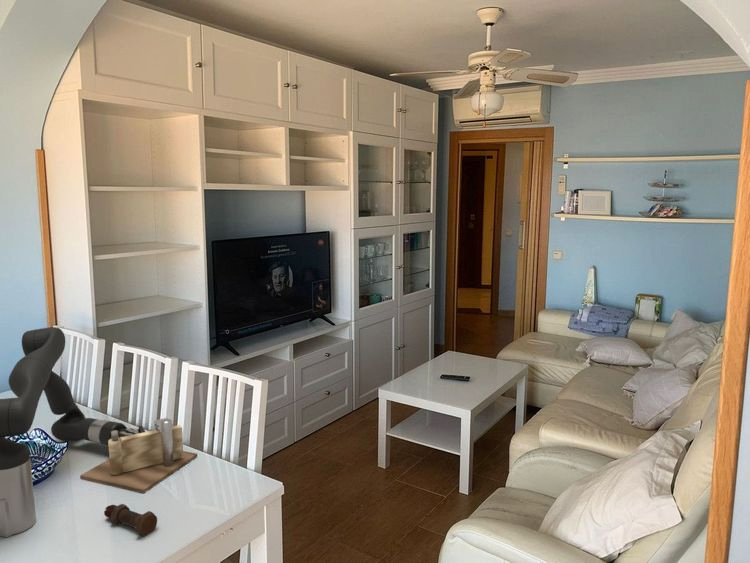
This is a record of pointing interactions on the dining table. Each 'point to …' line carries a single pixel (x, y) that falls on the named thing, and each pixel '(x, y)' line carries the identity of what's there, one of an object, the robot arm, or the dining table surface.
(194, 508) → the dining table surface
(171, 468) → the hinge base
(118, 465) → the link
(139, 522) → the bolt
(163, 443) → the post
